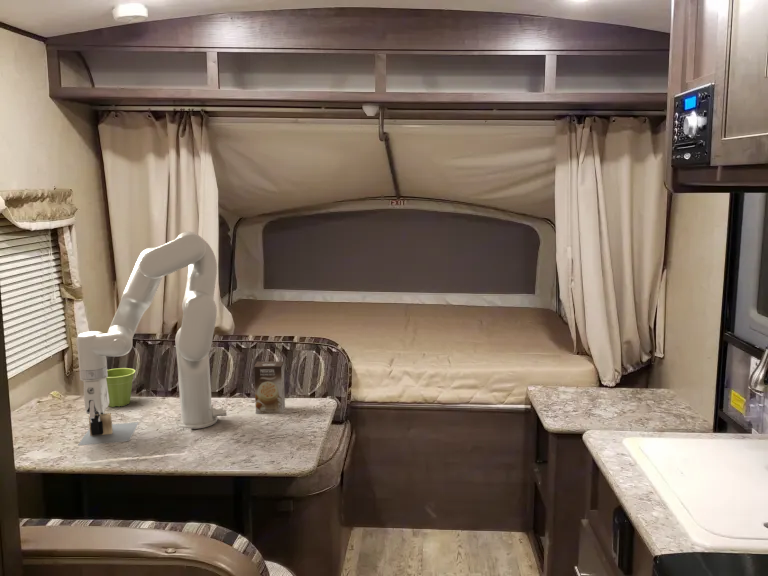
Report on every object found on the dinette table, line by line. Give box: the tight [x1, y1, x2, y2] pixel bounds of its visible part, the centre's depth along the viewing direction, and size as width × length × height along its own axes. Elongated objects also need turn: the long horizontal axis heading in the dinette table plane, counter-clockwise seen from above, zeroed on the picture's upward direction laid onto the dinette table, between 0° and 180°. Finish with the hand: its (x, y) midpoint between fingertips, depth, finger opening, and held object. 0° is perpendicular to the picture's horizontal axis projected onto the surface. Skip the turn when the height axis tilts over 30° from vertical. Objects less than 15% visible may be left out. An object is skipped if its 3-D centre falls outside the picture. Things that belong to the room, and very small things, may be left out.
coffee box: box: [253, 361, 286, 415], centre depth 216 cm, size 9×6×16 cm
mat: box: [77, 421, 139, 446], centre depth 198 cm, size 14×16×1 cm
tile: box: [88, 412, 113, 436], centre depth 197 cm, size 6×2×6 cm
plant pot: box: [106, 367, 136, 408], centre depth 226 cm, size 12×12×11 cm
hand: (98, 432), depth 197 cm, fingers closed
